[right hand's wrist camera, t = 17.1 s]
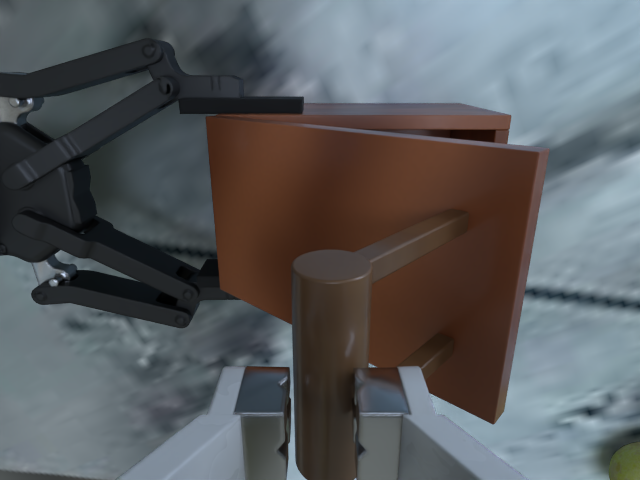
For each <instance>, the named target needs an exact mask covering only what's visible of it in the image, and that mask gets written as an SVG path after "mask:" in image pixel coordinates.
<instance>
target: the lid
mask: <svg viewBox="0 0 640 480" xmlns="http://www.w3.org/2000/svg"><path fill="white" fill-rule="evenodd" d="M206 127H207V139H208V151H209V163H210V174H211V186H212V198H213V210H214V222H215V233H216V245H217V257H218V269H219V280H220V289H221V290H223V291H225V292H227V293H229V294H231V295H233V296H235V297H237V298H239V299H241V300H243V301H245V302H247V303H249V304H251V305H253V306H255V307H257V308H259V309H261V310H263V311H265V312H267V313H269V314H271V315H273V316H275V317H277V318H279V319H281V320H283V321H286V322H288V323H290V324H292V336H293V377H294V418H295V458H296V465H297V467H298V470H299V471H300V473H301V474H302V475H303V476H304V477H305V478H306V479H307V480H354V479H355V478H356V468H355V444H354V443H353V434H352V398H353V397H354V395H353V384H352V380H353V368H368V365H369V363H370V364H372V365H374V366H376V367H401V366H418V367H420V368H421V371H422V374H423V377H424V380H425V382H426V385H427V388H428V391H429V393H431V394H433V395H435V396H437V397H439V398H441V399H443V400H445V401H447V402H449V403H451V404H453V405H455V406H457V407H459V408H461V409H463V410H465V411H467V412H469V413H471V414H473V415H475V416H477V417H479V418H481V419H483V420H485V421H487V422H489V423H491V424H495V422H496V421H497V420H498V418H499V417H500V416H501V414H502V413H503V412H504V407H505V402H506V396H507V390H508V384H509V379H510V373H511V367H512V361H513V356H514V350H515V344H516V339H517V333H518V327H519V321H520V316H521V310H522V304H523V298H524V293H525V287H526V281H527V275H528V270H529V264H530V258H531V253H532V247H533V241H534V235H535V230H536V224H537V218H538V212H539V207H540V201H541V195H542V189H543V184H544V178H545V172H546V166H547V161H548V155H549V148H542V147H532V146H521V145H511V144H501V143H491V142H481V141H471V140H461V139H451V138H441V137H431V136H421V135H411V134H401V133H391V132H381V131H371V130H361V129H351V128H341V127H331V126H321V125H311V124H301V123H291V122H281V121H271V120H261V119H251V118H241V117H231V116H221V115H219V116H207V117H206Z"/></svg>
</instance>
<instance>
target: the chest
mask: <svg viewBox="0 0 640 480" xmlns="http://www.w3.org/2000/svg"><path fill="white" fill-rule="evenodd" d="M219 115H221V116H231V117H241V118H251V119H261V120H271V121H281V122H291V123H301V124H311V125H321V126H331V127H341V128H351V129H361V130H371V131H381V132H391V133H401V134H411V135H421V136H431V137H441V138H451V139H461V140H471V141H481V142H491V143H501V144H507V142H508V134H509V129H510V122H511V115H508V114H504V113H499V112H495V111H491V110H486V109H482V108H478V107H474V106H469V105H465V104H460V103H304V110H303V112H302V114H218V115H216V116H219Z"/></svg>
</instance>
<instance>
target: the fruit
mask: <svg viewBox="0 0 640 480" xmlns="http://www.w3.org/2000/svg"><path fill="white" fill-rule="evenodd" d="M609 477H610V480H640V442H634V443H630V444H628V445H625V446H623V447H621V448H620V449H619V450H617V451H616V452H615V453H614V455H613V456H612V458H611V461H610V465H609Z"/></svg>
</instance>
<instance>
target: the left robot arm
mask: <svg viewBox="0 0 640 480" xmlns="http://www.w3.org/2000/svg"><path fill="white" fill-rule="evenodd" d="M174 56H175V52H174V49H173V47H172V46H171V45H170V44H169V43H167V42H165V41H160V40H155V39H149V38H148V39H142V40H139V41H135V42H132V43H129V44H125V45H122V46H119V47H115V48H112V49H109V50H105V51H102V52H99V53H95V54H92V55H89V56H85V57H82V58H79V59H75V60H72V61H69V62H65V63H62V64H59V65H55V66H52V67H49V68H45V69H42V70H39V71H35V72H32V73H21V72H0V255H11V256H15V257H18V258H20V259H22V260H24V261H27V262H31V263H32V266H33V269H34V272H35V275H36V278H37V281H38V284H39V286H37V287H36V288H35V289H34V290H33V291H32V293H31V295H32V298H33V300H34V301H35V302H36V303H38V304H41V305H48V304H61V303H73V304H77V305H82V306H86V307H90V308H95V309H99V310H103V311H108V312H112V313H116V314H121V315H125V316H129V317H134V318H138V319H142V320H147V321H151V322H155V323H160V324H164V325H168V326H173V327H177V328H185V327H187V326H188V325H189V323H190V322H191V320H192V318H193V316H194V314H195V312H196V310H197V308H198V306H199V302H200V301H202V300H227V299H228V300H234V299H235V300H241V299H239V298H237V297H235V296H233V295H231V294H229V293H227V292H225V291H223V290H221V289H220V280H219V269H218V259H207V260H206V262H205V263H204V265H203V267H202V268H201V270H199V269H197V268H195V267H193V266H191V265H189V264H186V263H184V262H182V261H180V260H178V259H176V258H174V257H172V256H170V255H168V254H166V253H164V252H162V251H159V250H157V249H155V248H153V247H151V246H149V245H147V244H145V243H143V242H141V241H139V240H137V239H135V238H132V237H130V236H128V235H126V234H124V233H122V232H120V231H118V230H116V229H114V227H113V225H112V224H111V223H109V222H108V221H106V220H103V219H101V218H99V217H97V216H95V215H96V214H97V210H96V205H95V201H94V199H93V197H92V194H91V192H90V179H91V176H90V170H89V165H84V163H83V161H82V159H83V158H85V157H87V156H88V155H90V154H92V153H93V152H95V151H97V150H98V149H100V147H102V146H103V145H105V144H106V143H108V142H110V141H111V140H113V139H115V138H116V137H118V136H120V135H121V134H123V133H125V132H126V131H128V130H130V129H131V128H133V127H135V126H136V125H138V124H140V123H141V122H143V121H145V120H146V119H148V118H149V117H151V116H153V115H154V114H156V113H158V112H159V111H161V110H163V109H164V108H166V107H168V106H169V105H171V104H173V103H174V102H176V101H178V100H179V107H180V114H302V112H303V110H304V97H244V86H243V79H241V78H239V77H236V76H196V75H188V74H186V73H184V72H183V71H182V70H181V69H180V67H179V66H178V63H177V61H176V59H175V57H174ZM146 70H149V72H150V74H151V76H152V78H153V80H154V81H152V82H150V83H149V84H147V85H146V86H144V87H142V88H141V89H139V90H137V91H136V92H134V93H133V94H131V95H129V96H128V97H126V98H125V99H123V100H121V101H120V102H118V103H117V104H115V105H113V106H112V107H110V108H108V109H107V110H105V111H104V112H102V113H100V114H99V115H97V116H96V117H94V118H92V119H91V120H89V121H88V122H86V123H84V124H83V125H81V126H79V127H78V128H76V129H75V130H73V131H71V132H70V133H68V134H66V135H64V136H62V137H60V138H58V139H56V140H54V139H53V138H51V137H50V136H48V135H46V134H45V133H43V132H42V131H40V130H39V129H37V128H36V127H34V126H32V125H31V124H29V123H27V122H26V118H27V115H28V114H29V113H30V112H33V111H37V110H39V109H40V108H41V107H42V104H43V103H44V98H43V97H50V96H59V95H63V94H67V93H71V92H74V91H78V90H81V89H84V88H88V87H91V86H95V85H98V84H101V83H105V82H108V81H112V80H115V79H118V78H122V77H125V76H129V75H132V74H136V73H139V72H142V71H146ZM83 232H84V234H81V233H83ZM60 250H63V251H65V252H67V253H69V254H71V255H73V256H76V257H78V258H91V259H93V260H95V261H97V262H100V263H102V264H104V265H106V266H108V267H110V268H112V269H115V270H117V271H119V272H121V273H123V274H125V275H127V276H130V277H132V278H134V279H136V280H138V281H140V282H138V281H134V280H130V279H125V278H121V277H117V276H113V275H109V274H104V273H100V272H95V271H89V270H77V266H76V265H75V264H70V265H69V264H64V263H61V262H59V261H58V260H57V259H56V257H55V255H54V254H56V253H57V252H58V251H60ZM142 282H143V283H142Z"/></svg>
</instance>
